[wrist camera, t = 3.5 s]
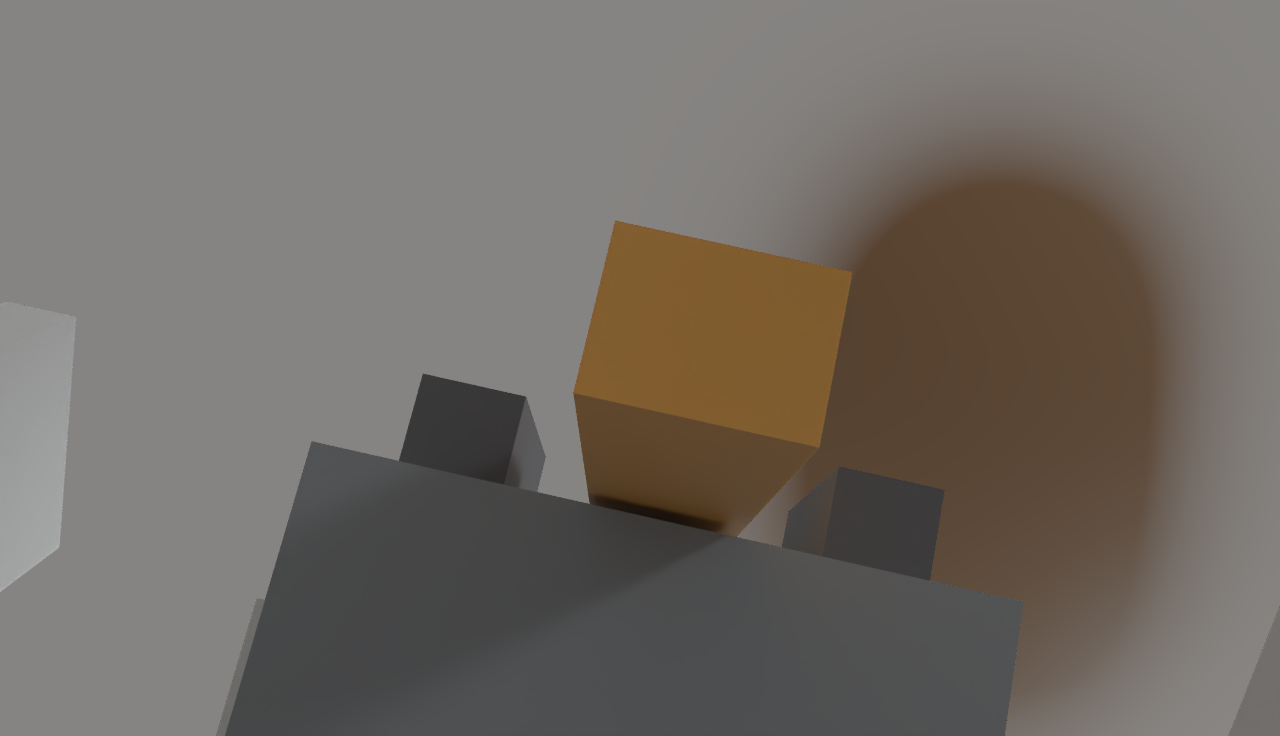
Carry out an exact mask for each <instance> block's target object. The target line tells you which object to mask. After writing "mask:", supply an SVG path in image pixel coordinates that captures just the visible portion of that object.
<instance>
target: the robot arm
mask: <svg viewBox="0 0 1280 736" xmlns="http://www.w3.org/2000/svg"><path fill="white" fill-rule="evenodd" d="M75 324H76V317H74V316H70V315H65V314H60V313H56V312H51V311H47V310H43V309H38V308H34V307H29V306H25V305H20V304H15V303H11V302H5V303H2V304H0V591H2V590H3V589H5V588H6V587H7V586H8V585H10V584H11V583H12V582H14V581H15V580H16V579H18V578H19V577H20V576H22V575H23V574H24V573H26V572H27V571H28V570H30V569H31V568H32V567H34V566H35V565H36V564H38V563H39V562H40V561H42V560H43V559H44V558H46V557H47V556H48V555H50V554H51V553H52V552H54V551H55V550H56V549H58V548H59V546H60V532H61V519H62V518H61V517H62V505H63V489H64V477H65V462H66V449H67V435H68V421H69V407H70V393H71V380H72V365H73V350H74V337H75ZM1228 736H1280V607H1279V609H1278V612H1277V614H1276V617H1275V619H1274V622H1273V624H1272V627H1271V629H1270V632H1269V634H1268V637H1267V639H1266V642H1265V645H1264V647H1263V649H1262V652H1261V654H1260V657H1259V660H1258V662H1257V665H1256V667H1255V670H1254V672H1253V675H1252V677H1251V680H1250V682H1249V685H1248V687H1247V690H1246V693H1245V695H1244V697H1243V700H1242V703H1241V705H1240V708H1239V710H1238V713H1237V715H1236V718H1235V720H1234V723H1233V725H1232V728H1231V730H1230V733H1229V735H1228Z"/></svg>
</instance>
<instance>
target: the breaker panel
mask: <svg viewBox="0 0 1280 736" xmlns="http://www.w3.org/2000/svg"><path fill="white" fill-rule="evenodd" d="M544 462H545V454H544V451H543V448H542V444H541V441H540V439H539V435H538V432H537V429H536V426H535V423H534V420H533V417H532V414H531V411H530V407H529V405H528V401H527V398H526V397H525V396H521V395H516V394H511V393H507V392H502V391H498V390H494V389H489V388H485V387H480V386H476V385H471V384H467V383H462V382H458V381H453V380H449V379H444V378H439V377H435V376H431V375H426V374H423V376H422V380H421V383H420V387H419V390H418V394H417V397H416V401H415V405H414V408H413V412H412V416H411V419H410V423H409V426H408V430H407V434H406V438H405V441H404V445H403V449H402V452H401V456H400V459H399V461H397V460H392V459H388V458H383V457H378V456H374V455H370V454H365V453H361V452H357V451H352V450H348V449H343V448H338V447H334V446H330V445H325V444H321V443H317V442H311V446H310V449H309V452H308V456H307V459H306V463H305V466H304V469H303V473H302V476H301V479H300V483H299V486H298V490H297V493H296V496H295V500H294V503H293V507H292V510H291V513H290V517H289V520H288V523H287V527H286V531H285V534H284V537H283V541H282V544H281V547H280V551H279V554H278V558H277V561H276V564H275V568H274V571H273V575H272V578H271V581H270V585H269V588H268V591H267V595H266V598H265V600H263V599H258V598H257V599H256V602H255V606H254V609H253V613H252V616H251V620H250V623H249V626H248V629H247V633H246V636H245V640H244V643H243V646H242V650H241V653H240V657H239V660H238V663H237V666H236V670H235V673H234V677H233V680H232V683H231V687H230V691H229V694H228V697H227V701H226V704H225V707H224V710H223V714H222V717H221V720H220V724H219V728H218V731H217V734H216V736H1005V729H1006V721H1007V715H1008V707H1009V701H1010V693H1011V687H1012V680H1013V673H1014V666H1015V659H1016V652H1017V645H1018V637H1019V631H1020V623H1021V616H1022V609H1023V602H1021V601H1017V600H1012V599H1008V598H1004V597H1000V596H995V595H991V594H986V593H982V592H977V591H972V590H968V589H964V588H960V587H955V586H950V585H946V584H942V583H937V582H933V581H930V576H931V570H932V563H933V558H934V551H935V545H936V539H937V533H938V527H939V520H940V514H941V508H942V502H943V495H944V490H942V489H937V488H933V487H928V486H924V485H920V484H915V483H911V482H906V481H902V480H897V479H893V478H888V477H884V476H879V475H875V474H870V473H866V472H861V471H857V470H852V469H848V468H843V467H838V468H837V469H836V470H834V471H833V472H832V473H831V474H830V475H829V476H828V477H827V478H826V479H824V480H823V481H822V482H821V483H820V484H819V485H818V486H817V487H816V488H815V489H813V490H812V491H811V492H810V493H809V494H808V495H807V496H806V497H804V498H803V499H802V500H801V501H800V502H799V503H798V504H797V505H796V506H795V507H794V508H792V509H791V510H790V511H789V513H788V518H787V523H786V528H785V534H784V539H783V544H782V547H778V546H773V545H769V544H765V543H760V542H756V541H751V540H747V539H742V538H738V537H733V536H729V535H725V534H720V533H716V532H711V531H707V530H702V529H698V528H694V527H689V526H685V525H680V524H676V523H671V522H667V521H663V520H658V519H654V518H649V517H645V516H640V515H636V514H631V513H627V512H623V511H618V510H614V509H609V508H605V507H600V506H596V505H592V504H587V503H583V502H578V501H574V500H569V499H565V498H561V497H556V496H552V495H547V494H543V493H538V492H537V490H538V486H539V482H540V478H541V473H542V470H543V465H544Z"/></svg>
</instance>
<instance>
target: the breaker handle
mask: <svg viewBox="0 0 1280 736" xmlns="http://www.w3.org/2000/svg"><path fill="white" fill-rule="evenodd" d="M851 277H852V272H849V271H845V270H840V269H835V268H830V267H826V266H821V265H817V264H812V263H808V262H803V261H798V260H794V259H789V258H785V257H780V256H776V255H771V254H766V253H762V252H757V251H753V250H748V249H743V248H739V247H734V246H730V245H725V244H720V243H716V242H711V241H707V240H702V239H697V238H693V237H688V236H684V235H679V234H674V233H670V232H665V231H660V230H655V229H651V228H646V227H642V226H638V225H633V224H628V223H624V222H619V221H615V224H614V228H613V232H612V236H611V241H610V244H609V249H608V253H607V257H606V261H605V265H604V269H603V273H602V277H601V281H600V286H599V290H598V294H597V298H596V302H595V306H594V310H593V314H592V319H591V323H590V327H589V331H588V335H587V339H586V343H585V347H584V351H583V356H582V360H581V364H580V368H579V372H578V376H577V380H576V384H575V389H574V400H575V406H576V413H577V421H578V427H579V433H580V441H581V448H582V454H583V461H584V468H585V475H586V481H587V488H588V495H589V502H590V504H592V505H596V506H600V507H605V508H609V509H614V510H618V511H623V512H627V513H631V514H636V515H640V516H645V517H649V518H654V519H658V520H663V521H667V522H671V523H676V524H680V525H685V526H689V527H694V528H698V529H702V530H707V531H711V532H716V533H720V534H725V535H729V536H733V537H737V536H738V535H739V533H741V531H742V530H743V529H744V528H745V527H746V526H747V525H748V524H749V523H750V522H751V521H752V520H753V518H754V517H755V516H756V515H757V514H758V513H759V512H760V511H761V510H762V509H763V508H764V507H765V506H766V504H767V503H768V502H769V501H770V500H771V499H772V498H773V497H774V496H775V495H776V493H778V491H779V490H780V489H781V488H782V487H783V486H784V485H785V484H786V483H787V482H788V481H789V480H790V479H791V477H792V476H793V475H794V474H795V473H796V472H797V471H798V470H799V469H800V468H801V466H803V464H804V463H805V462H806V461H807V460H808V459H809V458H810V457H811V456H812V455H813V454H814V452H816V451H817V449H818V448H819V446H820V441H821V436H822V430H823V425H824V419H825V414H826V409H827V404H828V398H829V393H830V388H831V383H832V377H833V372H834V367H835V361H836V356H837V351H838V346H839V340H840V335H841V329H842V324H843V319H844V314H845V309H846V302H847V298H848V293H849V287H850V282H851Z"/></svg>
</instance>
